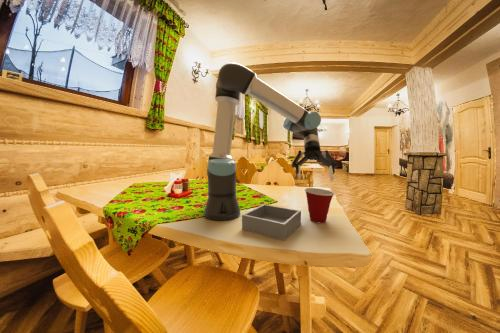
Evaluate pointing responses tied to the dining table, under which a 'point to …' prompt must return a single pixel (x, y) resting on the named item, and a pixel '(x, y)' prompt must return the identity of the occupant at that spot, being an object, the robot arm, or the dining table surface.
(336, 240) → the dining table surface
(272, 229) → the bin
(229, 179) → the robot arm
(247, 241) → the dining table surface
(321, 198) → the plastic cup
